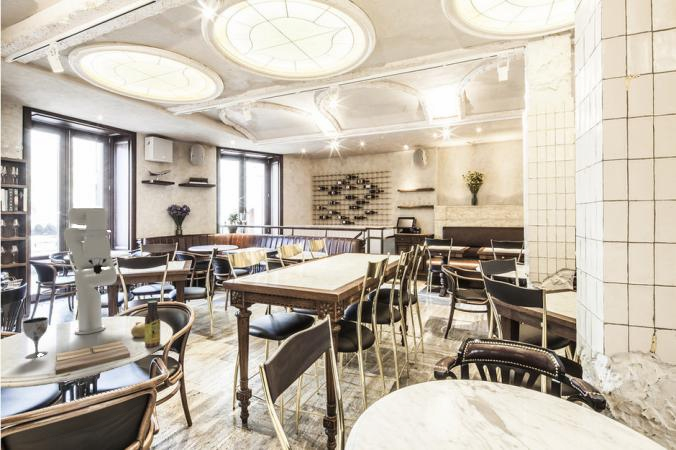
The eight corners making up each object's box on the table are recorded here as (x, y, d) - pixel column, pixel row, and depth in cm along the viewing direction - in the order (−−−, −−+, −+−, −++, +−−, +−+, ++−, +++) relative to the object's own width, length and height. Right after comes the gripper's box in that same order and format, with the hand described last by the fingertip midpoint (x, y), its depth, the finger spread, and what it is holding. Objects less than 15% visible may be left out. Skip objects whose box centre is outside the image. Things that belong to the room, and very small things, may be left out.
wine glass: (53, 352, 146) (52, 318, 145) (31, 360, 139) (30, 324, 138) (41, 350, 149) (40, 316, 148) (19, 357, 141) (17, 322, 141)
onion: (150, 332, 170) (150, 318, 170) (149, 337, 163) (149, 323, 163) (132, 335, 167) (131, 320, 167) (130, 340, 160) (129, 325, 159)
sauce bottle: (153, 348, 150) (152, 304, 149) (141, 347, 152) (140, 303, 151) (164, 342, 157) (163, 300, 156) (152, 341, 158) (151, 299, 157)
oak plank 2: (92, 349, 150) (91, 346, 150) (121, 343, 157) (121, 340, 157) (94, 355, 143) (94, 352, 143) (124, 348, 150) (124, 345, 150)
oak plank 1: (56, 357, 142) (56, 353, 142) (89, 350, 150) (89, 347, 150) (57, 364, 135) (57, 360, 135) (91, 356, 142) (91, 353, 142)
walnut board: (55, 365, 134) (55, 362, 134) (126, 349, 149) (126, 346, 149) (55, 373, 127) (55, 370, 127) (130, 356, 142) (130, 352, 142)
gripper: (114, 232, 163) (115, 270, 164) (75, 234, 154) (76, 274, 154) (117, 233, 158) (118, 272, 158) (76, 235, 148) (77, 276, 149)
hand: (97, 273), depth 156 cm, fingers closed
